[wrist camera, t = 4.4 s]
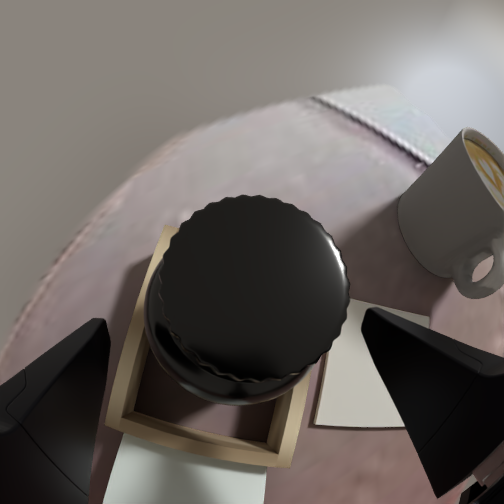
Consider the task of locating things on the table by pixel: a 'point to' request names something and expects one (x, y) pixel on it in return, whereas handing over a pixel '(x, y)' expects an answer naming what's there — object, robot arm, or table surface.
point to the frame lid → (180, 477)
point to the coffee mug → (459, 214)
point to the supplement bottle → (245, 300)
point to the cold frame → (185, 438)
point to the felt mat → (357, 377)
